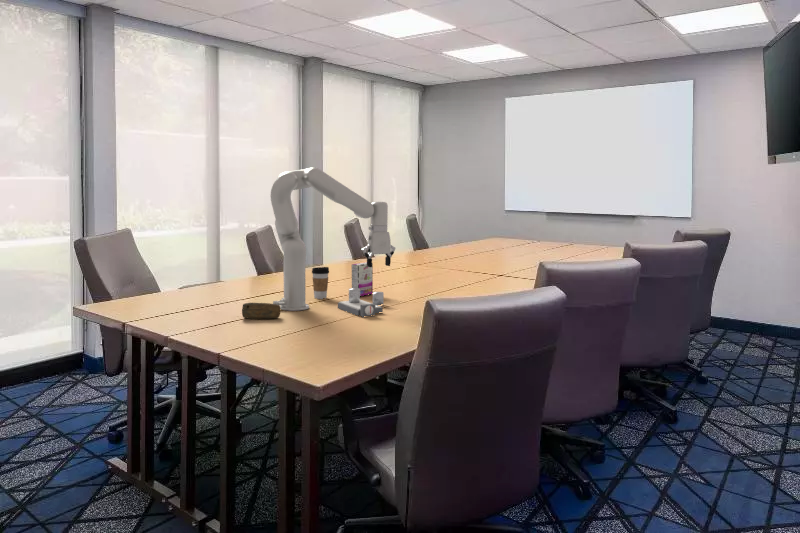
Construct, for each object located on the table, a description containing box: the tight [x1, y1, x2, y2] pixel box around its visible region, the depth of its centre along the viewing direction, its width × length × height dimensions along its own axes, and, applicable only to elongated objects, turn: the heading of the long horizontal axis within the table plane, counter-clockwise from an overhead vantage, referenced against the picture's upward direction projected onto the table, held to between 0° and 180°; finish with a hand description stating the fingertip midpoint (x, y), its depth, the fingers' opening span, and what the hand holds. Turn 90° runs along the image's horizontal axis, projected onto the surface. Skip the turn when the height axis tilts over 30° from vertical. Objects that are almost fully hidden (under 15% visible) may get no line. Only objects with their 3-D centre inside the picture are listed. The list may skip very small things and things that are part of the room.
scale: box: [337, 299, 384, 318], centre depth 258 cm, size 12×22×5 cm, turn 33°
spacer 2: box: [372, 291, 385, 305], centre depth 273 cm, size 5×5×6 cm
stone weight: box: [241, 302, 281, 320], centre depth 241 cm, size 15×7×7 cm, turn 100°
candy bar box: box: [351, 261, 374, 297], centre depth 296 cm, size 11×5×16 cm, turn 143°
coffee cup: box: [311, 266, 330, 300], centre depth 288 cm, size 8×8×15 cm
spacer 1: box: [348, 287, 361, 303], centre depth 263 cm, size 5×5×6 cm
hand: (378, 266), depth 271 cm, fingers open, 9 cm apart
